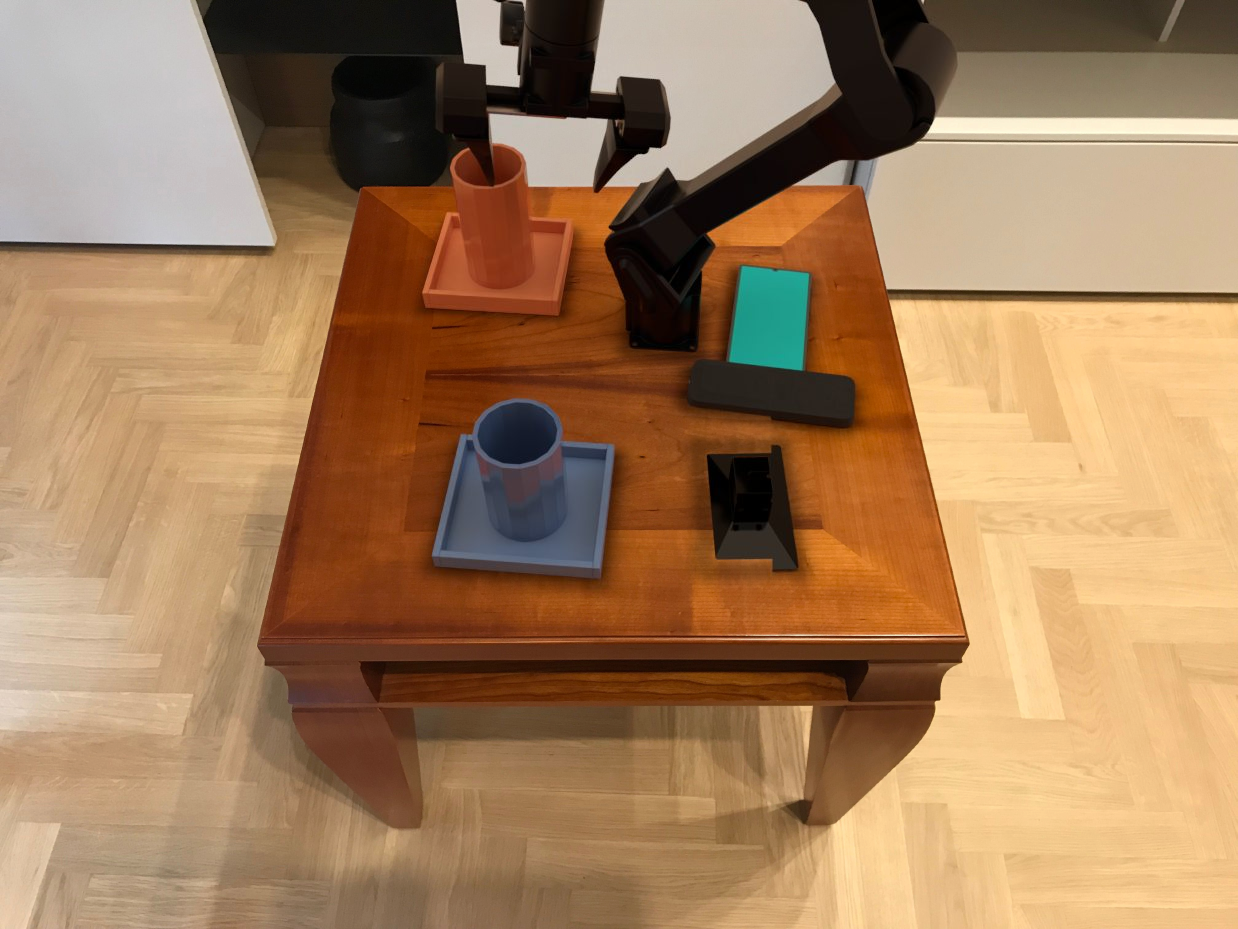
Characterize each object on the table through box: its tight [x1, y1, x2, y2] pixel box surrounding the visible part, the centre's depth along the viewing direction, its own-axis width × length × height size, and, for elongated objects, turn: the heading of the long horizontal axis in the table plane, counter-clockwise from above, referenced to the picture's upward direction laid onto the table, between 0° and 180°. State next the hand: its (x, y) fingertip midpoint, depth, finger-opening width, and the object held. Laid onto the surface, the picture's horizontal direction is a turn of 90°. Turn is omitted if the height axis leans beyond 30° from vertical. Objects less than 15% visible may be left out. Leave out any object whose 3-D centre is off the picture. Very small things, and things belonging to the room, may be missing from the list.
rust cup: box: [449, 142, 535, 289], centre depth 91 cm, size 7×7×12 cm
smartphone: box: [725, 263, 813, 371], centre depth 90 cm, size 7×1×15 cm
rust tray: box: [421, 211, 574, 317], centre depth 95 cm, size 13×12×2 cm
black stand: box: [706, 444, 800, 572], centre depth 77 cm, size 12×7×5 cm, turn 1°
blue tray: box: [431, 433, 616, 580], centre depth 77 cm, size 13×12×2 cm
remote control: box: [686, 358, 856, 428], centre depth 85 cm, size 5×2×15 cm
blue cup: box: [471, 397, 569, 542], centre depth 74 cm, size 7×7×10 cm
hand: (544, 186), depth 84 cm, fingers open, 9 cm apart
